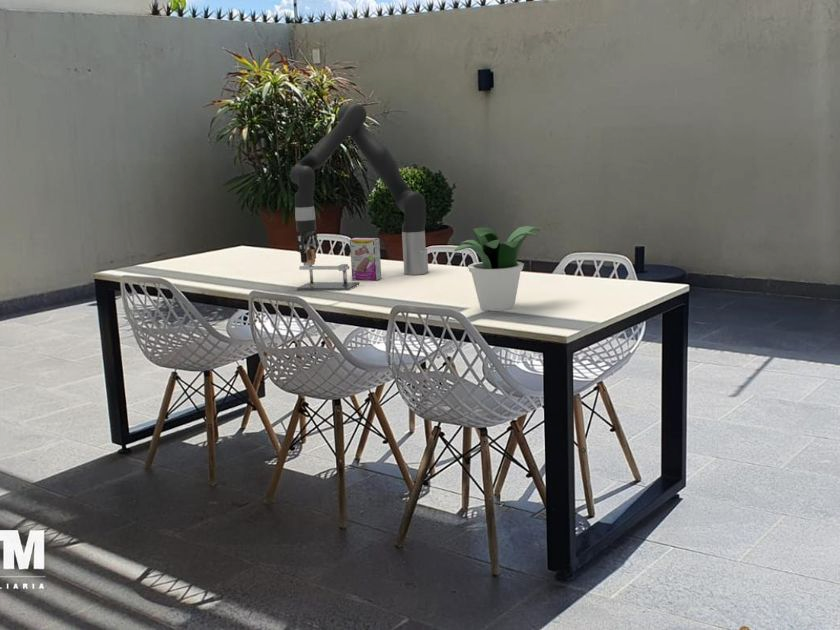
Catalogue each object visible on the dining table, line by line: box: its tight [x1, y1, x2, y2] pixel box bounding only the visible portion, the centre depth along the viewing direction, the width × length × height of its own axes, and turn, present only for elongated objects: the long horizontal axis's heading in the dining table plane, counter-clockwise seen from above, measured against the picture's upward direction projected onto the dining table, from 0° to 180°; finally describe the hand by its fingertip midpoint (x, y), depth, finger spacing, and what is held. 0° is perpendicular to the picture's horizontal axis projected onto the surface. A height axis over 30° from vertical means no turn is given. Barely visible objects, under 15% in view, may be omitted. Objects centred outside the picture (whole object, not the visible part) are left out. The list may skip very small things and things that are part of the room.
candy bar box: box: [349, 237, 382, 281], centre depth 390 cm, size 11×5×16 cm, turn 65°
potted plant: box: [453, 225, 541, 312], centre depth 323 cm, size 32×35×26 cm
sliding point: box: [303, 248, 316, 284], centre depth 377 cm, size 4×4×13 cm
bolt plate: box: [296, 263, 361, 291], centre depth 377 cm, size 21×12×9 cm, turn 73°
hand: (308, 260), depth 376 cm, fingers open, 8 cm apart
